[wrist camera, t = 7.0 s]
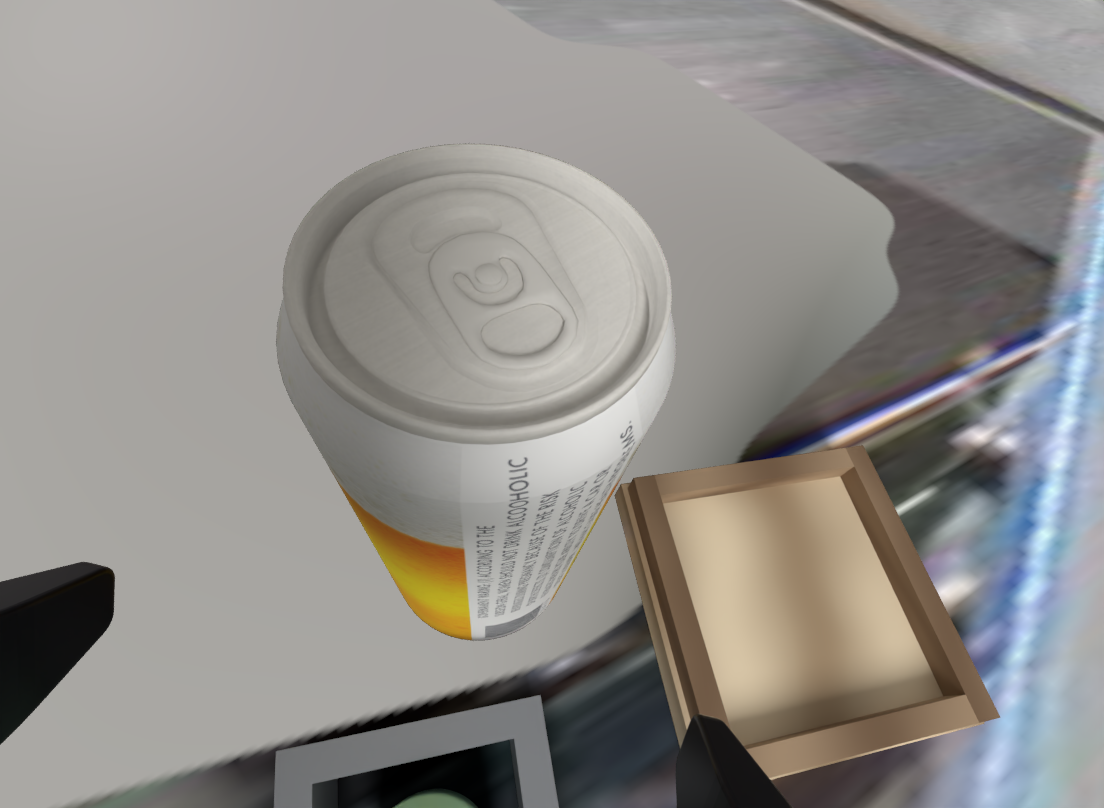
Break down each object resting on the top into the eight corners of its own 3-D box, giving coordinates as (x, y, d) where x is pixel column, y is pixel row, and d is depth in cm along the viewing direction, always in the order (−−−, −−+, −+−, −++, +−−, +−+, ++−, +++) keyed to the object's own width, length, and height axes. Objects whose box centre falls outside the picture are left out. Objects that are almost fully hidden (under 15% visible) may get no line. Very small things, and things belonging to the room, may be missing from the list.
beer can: (514, 453, 23) (559, 95, 10) (594, 587, 21) (788, 345, 8) (370, 522, 21) (192, 184, 8) (441, 680, 18) (354, 566, 6)
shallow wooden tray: (691, 793, 18) (717, 800, 16) (614, 495, 22) (626, 473, 21) (958, 723, 20) (1009, 722, 18) (835, 462, 24) (865, 440, 22)
